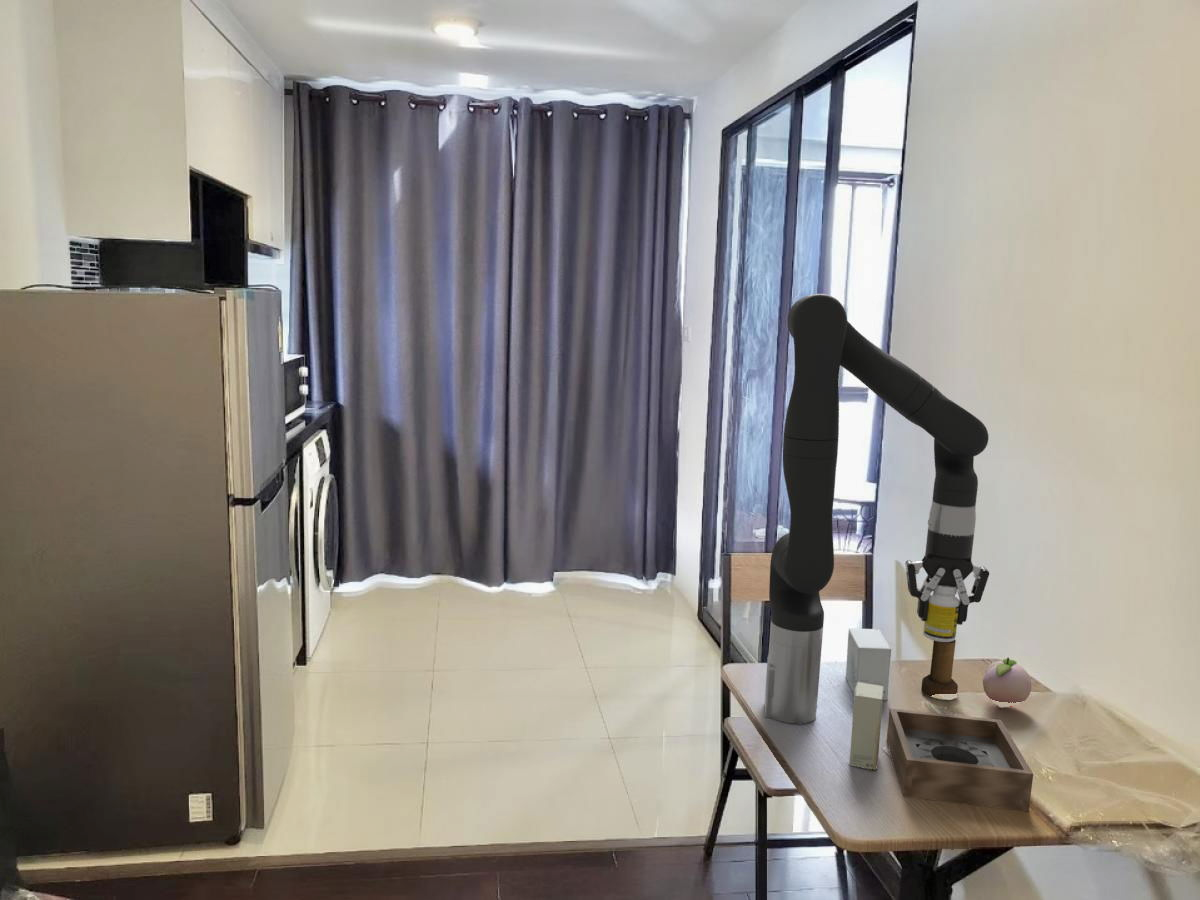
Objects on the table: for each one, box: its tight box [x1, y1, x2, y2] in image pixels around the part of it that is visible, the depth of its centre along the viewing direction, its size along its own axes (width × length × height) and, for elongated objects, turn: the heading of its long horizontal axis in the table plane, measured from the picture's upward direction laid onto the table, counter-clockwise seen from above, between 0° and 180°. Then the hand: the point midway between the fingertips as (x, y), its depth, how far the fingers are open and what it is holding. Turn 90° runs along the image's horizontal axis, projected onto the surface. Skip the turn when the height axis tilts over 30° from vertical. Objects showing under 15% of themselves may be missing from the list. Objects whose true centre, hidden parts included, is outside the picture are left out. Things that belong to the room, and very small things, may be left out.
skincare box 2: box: [849, 682, 884, 771], centre depth 146 cm, size 6×4×12 cm
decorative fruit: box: [982, 657, 1032, 703], centre depth 168 cm, size 9×8×10 cm
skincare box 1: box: [845, 627, 892, 701], centre depth 175 cm, size 10×6×10 cm, turn 175°
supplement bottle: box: [922, 583, 960, 642], centre depth 158 cm, size 5×5×10 cm
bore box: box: [886, 708, 1034, 812], centre depth 143 cm, size 18×18×6 cm
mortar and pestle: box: [920, 639, 959, 697], centre depth 173 cm, size 7×6×18 cm
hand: (941, 621), depth 158 cm, fingers closed on supplement bottle, 5 cm apart
